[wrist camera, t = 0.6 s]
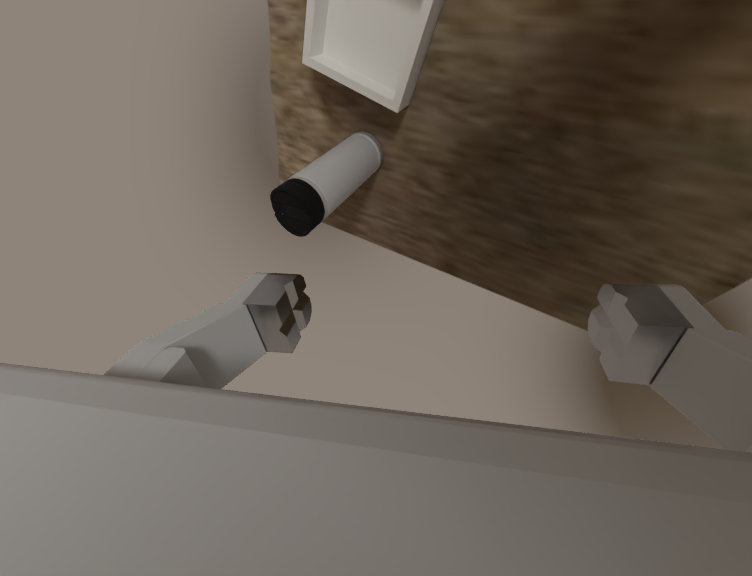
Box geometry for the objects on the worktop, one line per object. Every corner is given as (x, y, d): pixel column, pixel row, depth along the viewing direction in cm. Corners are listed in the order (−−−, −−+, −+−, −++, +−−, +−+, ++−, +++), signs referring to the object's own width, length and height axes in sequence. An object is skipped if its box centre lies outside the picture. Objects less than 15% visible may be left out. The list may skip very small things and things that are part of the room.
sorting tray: (337, -100, 32) (315, -106, 30) (458, -43, 31) (447, -44, 29) (319, 57, 43) (302, 63, 40) (409, 104, 42) (397, 113, 39)
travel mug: (386, 175, 50) (316, 245, 37) (349, 168, 52) (272, 232, 40) (385, 133, 46) (306, 196, 33) (345, 128, 48) (257, 185, 35)
